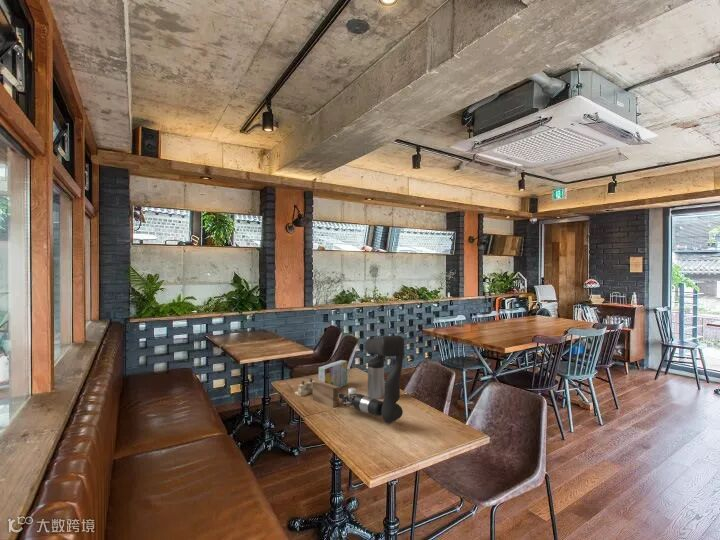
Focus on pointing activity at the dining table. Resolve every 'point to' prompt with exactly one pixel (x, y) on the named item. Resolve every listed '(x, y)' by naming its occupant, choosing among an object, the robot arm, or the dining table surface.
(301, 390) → the bench stop
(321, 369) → the snack box
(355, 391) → the white rounded piece
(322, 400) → the brown rectangular block
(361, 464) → the dining table surface
